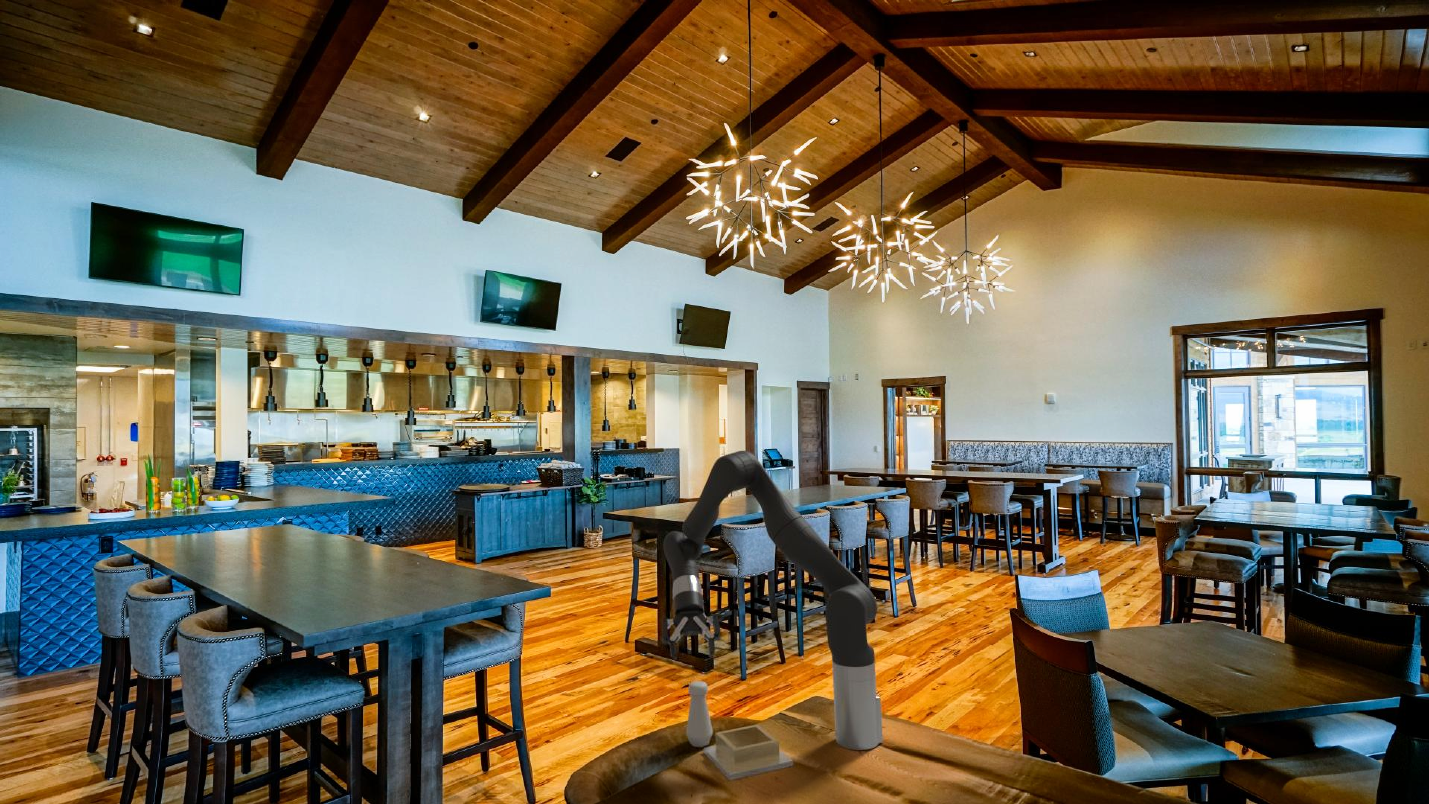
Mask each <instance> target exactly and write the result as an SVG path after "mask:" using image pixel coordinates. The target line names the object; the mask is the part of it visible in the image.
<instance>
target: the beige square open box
mask: <svg viewBox="0 0 1429 804" xmlns="http://www.w3.org/2000/svg"><path fill="white" fill-rule="evenodd" d="M714 735H715V745H712V746H706V747H703V753H704V752H705V753H704V754H706V755H707V756H706V755H705V756H706V757H707V758H708V759H709V760H710V761H711V762H712V763H713V764H714V765H715V766H716V767H717V769H718V770H719V771H720V772H722V774H723V775H724V776H725V777H726V779H728V780H729V781H734V780H737V779H742V778H745V777H746V776H747V777H751V776H755V775H760V774H764V773H767V772H772V771H777V770H782V769H786V768H790V767H789V766H791V767H794V760H792V759H791V758H790V757H789V756H788V755H787V754H785V753H784V752H783V751H782V750H781V749H780V740H778V739H777V738H775V737H774V735H772V734H770V733H769V732H768V731H767V730H766V729H764V728H763V727H761V726H760V725H759V724H753V725H747V726H743V727H738V728H737V727H736V728H733V729H728V730H723V731H718V732H715V734H714ZM750 775H751V776H750Z"/></svg>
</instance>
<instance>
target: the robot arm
mask: <svg viewBox="0 0 1429 804" xmlns="http://www.w3.org/2000/svg"><path fill="white" fill-rule="evenodd" d="M744 489H747V491H748V492H749V493H751V495H752V496H753V497H754V499H755V500H756V501H757V502H758V504H759V506H760V508H761V512H762V516H763V520H764V526H765V530H766V532H767V535H768V538H769V539H770V540H771V541H772V543H773V544H774V545H775V546H776V547H777V548H778V550H779V551H780V553H782V555H783V556H785V558H786V559H787V560H788V561H790V562H791V563H792V564H794V565H795V566H797V568H799V569H801V570H802V571H804V572H805V573H807V574H808V575H810V576H811V577H813V578H814V579H815V580H816V581H817V582H819V583H820V584H821V586H823V588H824V590H826V591H827V592H828V594H829V596H828V598H827V600H826V604H825V624H826V636H827V644H828V645H827V646H828V649H829V650H830V653H831V663H832V683H833V685H832V687H833V707H834V708H833V709H834V710H833V711H834V728H835V730H834V731H835V742H836V744H837V745H839V746H840V747H843V748H845V749H848V750H854V751H855V750H856V751H863V750H864V751H865V750H870V749H873V748H876V747H877V746H879V744H881V743H883V742H884V741H883V739H884V738H883V737H884V736H883V721H882V720H883V718H882V703H881V701H882V699H881V697H880V696H879V695H877V679H876V678H877V676H876V663H875V662H876V659H875V655H876V654H875V650H874V648H873V646H872V645H870V644H869V643H868V635H867V625H868V624H870V623H872V622H873V620H874V619H875V618H876V617H877V614H878V603H877V599H876V597H875V596H874V594H873V592H872V591H871V590H870V588H868V587H867V586H866V584H865V583H864V582H862V581H861V580H860V579H859V578H858V577H857V576H856V575H855V574H854V573H853V572H852V571H851V570H850V569H849V568H847V567H846V565H844V563H843V562H842V561H841V560H840V559H839V558H838V557H837V556H836V554H835V553H834V552H833V551H832V550H831V548H830V547H829V546H828V545H827V544H826V543H825V541H824V540H823V539H822V538H821V537H820V536H819V534H818V533H817V531H815V529H814V527H812V525H810V524H809V522H808V521H807V520H806V519H805V518H804V517H803V516H802V514H801V513H800V512H799V511H798V510H797V508H796V507H794V506H793V504H792V503H791V502H790V500H789V499H788V498H787V497H786V495H784V493H783V492H782V491H781V490H780V489H779V487H778V486H777V485H776V483H775V482H774V480H773V479H772V477H771V475H770V474H769V473H768V471H767V470H766V468H764V466H763V464H762V462H760V461H759V459H758V458H757V457H756V456H755V455H754V454H753V453H752V452H749V451H747V450H738V451H735V452H731V453H728V454H724V455H722V456H719V457H718V458H717V459H716V460H715V462H714V464H713V465H712V467H711V470H710V471H709V474H708V477H707V480H706V482H705V484H704V486H703V489H702V491H701V494H700V496H699V498H698V499H697V501H696V503H695V505H694V507H693V508H692V509H691V510H690V512H689V514H688V515H687V517H686V518H685V519H684V522H683V523H682V527H681V529H682V531H677V530H673V531H669V532H668V533H667V534H666V536H665V537H664V539H663V553H664V555H665V559H666V561H667V563H668V566H669V568H670V570H671V572H672V573H671V576H672V577H671V578H672V600H673V602H672V604H673V614H674V617H673V618H668V617H667V616H663V617H662V620H661V621H662V623H661V625H662V626H661V627H662V630H661V631H662V632H661V633H662V635H661V636H662V637H661V641H662V642H661V643H662V644H663V645H669V648H670V649H669V650H670V657H671V658H673V660H677V658H678V649H677V642H678V641H679V640H680V639H681V638H682V636H684V637H690V636H693V637H694V636H698V635H699V636H701V637H702V638H703V639H704V640H706V641H707V647H708V656H709V658H713V655H715V653H716V646H715V642H716V641H720V640H721V635H722V630H721V626H720V622H719V616H718V614H717V613H713V614H712V615H711V616H706V614H705V608H704V607H705V605H704V598H703V591H702V585H701V581H700V572H699V566H698V563H696V562H695V561H696V560H698V558H700V557H701V555H702V552H703V547H704V543H705V541H706V537H707V536H708V534H709V532H710V531H711V530H712V528H713V527H714V526H715V524H716V522H717V520H718V519H719V513H720V506H721V503H722V502H723V501H724V500H725V499H726V498H727V497H728V496H729V495H730V494H731V493H733V492H737V491H740V490H744ZM707 623H709V625H710V626H711V627H713V628H712V629H713V632H714V633H713V632H712V631H710V629H709V627H708V626H707V625H706V624H707ZM672 625H673V627H675V629H674V632H673V633H672V634H671V636H668V630H669V629H670V628H671V626H672Z"/></svg>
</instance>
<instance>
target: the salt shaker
mask: <svg viewBox="0 0 1429 804" xmlns="http://www.w3.org/2000/svg"><path fill="white" fill-rule="evenodd" d="M708 691H709V686H708V684H707V682H705V681H700V680H697V681H692V682H691V683H690V684H689V685H688V694H689V695H690V703H689V711H688V716H687V726H686V731H685V732H686V733H685V734H686V737H687V738H688V741H689V744H690V745H691V746H693V747H696V748H705V746H706V747H707V746H708V745H709V744H710V741H711V739H712V736H713V732H714V731H713V725H712V723H711V722H712V721H711V716H710V712H709V708H708V703H707V699H706V695H707V694H708ZM709 746H710V745H709Z"/></svg>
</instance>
